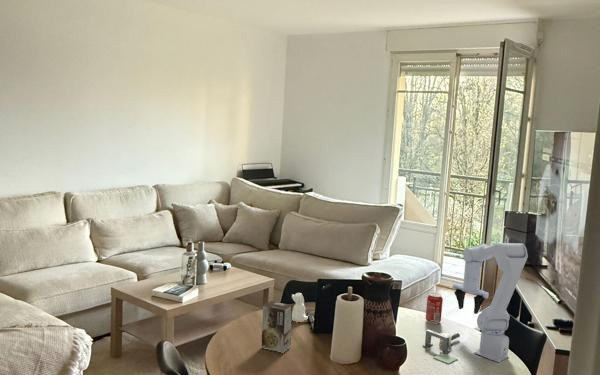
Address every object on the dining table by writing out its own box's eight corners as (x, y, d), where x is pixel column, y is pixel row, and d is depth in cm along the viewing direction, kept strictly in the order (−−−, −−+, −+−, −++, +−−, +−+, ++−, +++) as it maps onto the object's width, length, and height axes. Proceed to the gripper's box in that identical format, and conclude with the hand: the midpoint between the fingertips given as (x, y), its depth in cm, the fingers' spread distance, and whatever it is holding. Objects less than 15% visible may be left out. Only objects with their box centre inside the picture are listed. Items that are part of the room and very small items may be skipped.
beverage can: (439, 320, 237) (441, 293, 236) (441, 325, 231) (444, 297, 229) (424, 318, 238) (426, 291, 236) (426, 324, 231) (428, 296, 230)
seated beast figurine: (315, 321, 227) (316, 293, 225) (300, 326, 221) (302, 297, 219) (298, 315, 233) (300, 288, 232) (284, 320, 227) (285, 291, 226)
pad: (457, 359, 197) (457, 358, 197) (448, 364, 193) (448, 363, 193) (442, 354, 201) (442, 353, 201) (433, 358, 197) (433, 357, 197)
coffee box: (291, 348, 199) (293, 304, 197) (283, 354, 193) (285, 310, 192) (268, 342, 203) (271, 300, 201) (260, 348, 197) (262, 305, 195)
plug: (462, 341, 214) (463, 331, 214) (445, 349, 206) (446, 339, 205) (452, 338, 217) (453, 328, 217) (435, 345, 209) (436, 335, 208)
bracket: (450, 351, 204) (451, 336, 203) (443, 354, 201) (444, 338, 200) (429, 343, 210) (430, 328, 210) (422, 346, 207) (423, 331, 206)
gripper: (493, 280, 215) (490, 314, 217) (460, 271, 225) (457, 303, 227) (484, 283, 210) (481, 317, 212) (451, 274, 221) (448, 307, 222)
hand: (468, 310), depth 219 cm, fingers open, 6 cm apart
